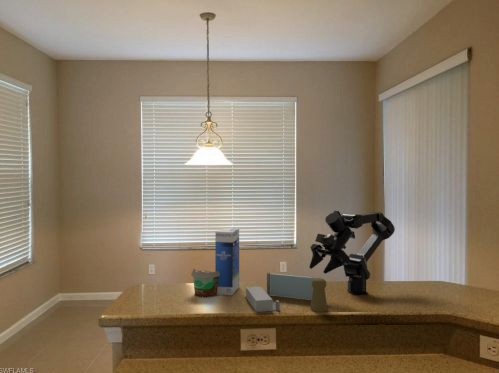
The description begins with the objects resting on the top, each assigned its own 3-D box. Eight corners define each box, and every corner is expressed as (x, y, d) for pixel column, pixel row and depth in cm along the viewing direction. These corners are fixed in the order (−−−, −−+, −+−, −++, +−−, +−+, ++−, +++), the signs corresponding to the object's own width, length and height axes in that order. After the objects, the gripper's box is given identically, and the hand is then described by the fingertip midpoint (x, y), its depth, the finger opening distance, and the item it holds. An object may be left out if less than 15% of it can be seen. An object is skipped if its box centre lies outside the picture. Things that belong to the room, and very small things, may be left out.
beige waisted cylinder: (327, 307, 141) (327, 277, 141) (327, 312, 135) (327, 281, 135) (310, 306, 142) (310, 276, 142) (310, 311, 136) (310, 280, 136)
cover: (272, 293, 157) (272, 272, 157) (320, 299, 149) (320, 277, 149) (270, 295, 155) (270, 273, 155) (319, 300, 147) (319, 278, 147)
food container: (185, 296, 155) (185, 271, 155) (193, 292, 161) (193, 268, 161) (213, 299, 150) (212, 273, 150) (220, 295, 156) (220, 270, 156)
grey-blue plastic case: (269, 294, 157) (269, 272, 157) (284, 310, 137) (284, 284, 137) (245, 296, 155) (245, 273, 155) (256, 312, 135) (256, 286, 135)
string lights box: (223, 286, 170) (223, 227, 170) (240, 287, 168) (240, 228, 168) (214, 294, 157) (214, 231, 157) (232, 295, 155) (232, 231, 155)
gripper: (313, 223, 159) (291, 253, 154) (343, 228, 142) (318, 261, 137) (329, 241, 162) (308, 270, 158) (360, 248, 145) (337, 280, 141)
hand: (316, 270), depth 148 cm, fingers open, 9 cm apart
